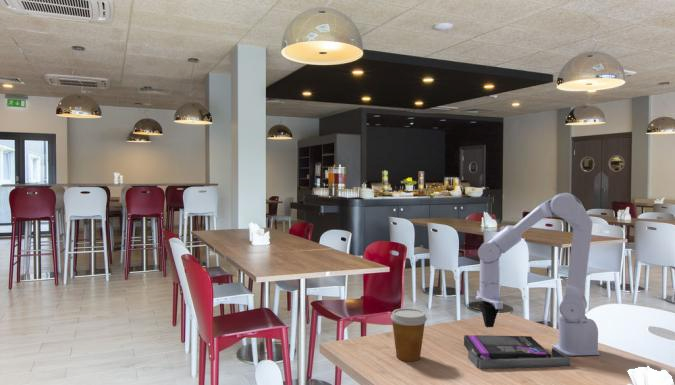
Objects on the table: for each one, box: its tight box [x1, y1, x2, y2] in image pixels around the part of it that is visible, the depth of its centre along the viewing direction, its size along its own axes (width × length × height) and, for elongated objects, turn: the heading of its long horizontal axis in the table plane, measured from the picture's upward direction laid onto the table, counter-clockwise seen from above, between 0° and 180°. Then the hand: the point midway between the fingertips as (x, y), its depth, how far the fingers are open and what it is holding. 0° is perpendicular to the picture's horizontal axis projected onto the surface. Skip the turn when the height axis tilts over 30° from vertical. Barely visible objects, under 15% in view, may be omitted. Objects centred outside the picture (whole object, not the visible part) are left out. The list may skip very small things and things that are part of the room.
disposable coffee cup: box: [390, 307, 428, 362], centre depth 128 cm, size 10×10×12 cm
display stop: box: [467, 347, 572, 370], centre depth 125 cm, size 24×8×2 cm, turn 95°
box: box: [463, 334, 553, 360], centre depth 131 cm, size 14×4×20 cm
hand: (489, 326), depth 145 cm, fingers closed
